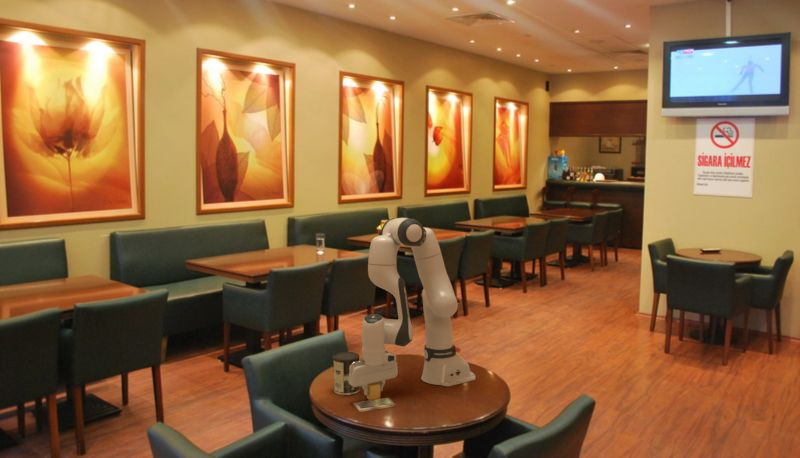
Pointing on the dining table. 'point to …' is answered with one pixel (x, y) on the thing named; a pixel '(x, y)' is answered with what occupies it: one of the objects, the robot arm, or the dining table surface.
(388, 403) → the banknote
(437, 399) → the dining table surface
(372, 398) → the yellow rectangular block
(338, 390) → the coffee can
